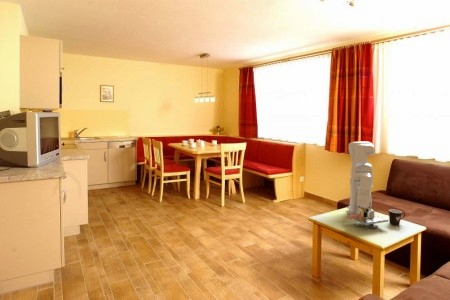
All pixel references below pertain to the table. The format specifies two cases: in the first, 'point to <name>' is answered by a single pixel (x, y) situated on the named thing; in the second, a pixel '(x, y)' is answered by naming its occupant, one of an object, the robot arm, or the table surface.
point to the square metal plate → (371, 219)
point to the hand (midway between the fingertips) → (363, 216)
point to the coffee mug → (395, 217)
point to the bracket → (355, 216)
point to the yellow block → (362, 212)
